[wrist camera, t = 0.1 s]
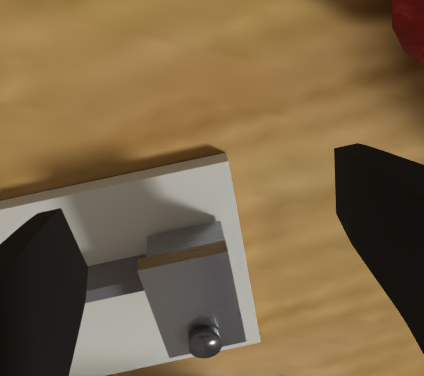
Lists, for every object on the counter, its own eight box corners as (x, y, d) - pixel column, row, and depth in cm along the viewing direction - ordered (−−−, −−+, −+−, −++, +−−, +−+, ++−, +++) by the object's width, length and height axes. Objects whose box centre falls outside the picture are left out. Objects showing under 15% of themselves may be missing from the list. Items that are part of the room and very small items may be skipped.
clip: (233, 284, 24) (248, 351, 20) (167, 298, 24) (169, 368, 20) (216, 201, 21) (230, 260, 17) (140, 217, 21) (136, 280, 17)
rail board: (257, 330, 28) (267, 368, 26) (-52, 397, 28) (-74, 441, 25) (225, 152, 21) (234, 180, 18) (-190, 241, 21) (-239, 281, 18)
